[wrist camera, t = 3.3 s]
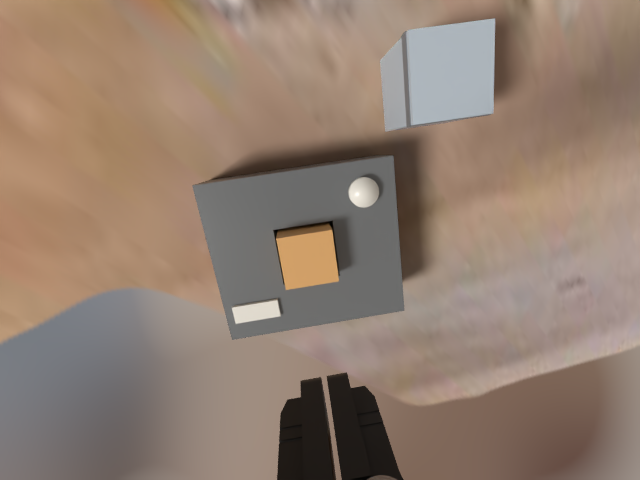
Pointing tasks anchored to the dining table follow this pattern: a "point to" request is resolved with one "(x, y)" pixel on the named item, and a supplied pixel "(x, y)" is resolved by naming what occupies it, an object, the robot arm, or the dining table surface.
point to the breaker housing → (296, 210)
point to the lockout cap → (439, 75)
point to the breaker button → (307, 255)
